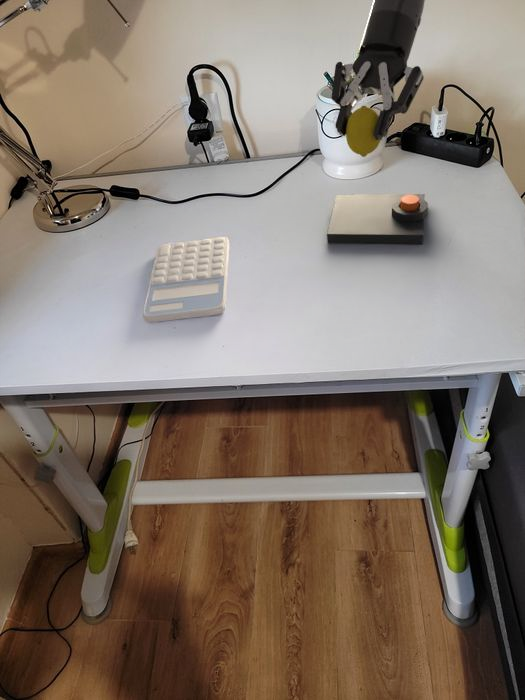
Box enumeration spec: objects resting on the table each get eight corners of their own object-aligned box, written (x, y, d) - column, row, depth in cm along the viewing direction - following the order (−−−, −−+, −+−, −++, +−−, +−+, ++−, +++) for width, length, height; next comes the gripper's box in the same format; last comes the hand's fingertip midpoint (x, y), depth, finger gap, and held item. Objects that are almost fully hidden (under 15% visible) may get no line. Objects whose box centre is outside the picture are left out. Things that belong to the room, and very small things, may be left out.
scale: (426, 203, 93) (428, 185, 91) (425, 244, 85) (427, 226, 82) (336, 203, 97) (335, 187, 95) (327, 243, 89) (326, 226, 86)
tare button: (418, 202, 88) (419, 194, 87) (418, 211, 86) (419, 203, 85) (401, 202, 89) (401, 194, 88) (400, 211, 87) (400, 203, 86)
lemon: (343, 164, 82) (342, 114, 76) (349, 148, 85) (348, 99, 79) (378, 164, 80) (379, 113, 74) (383, 148, 83) (384, 97, 78)
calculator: (230, 242, 93) (228, 233, 92) (225, 315, 79) (223, 306, 78) (159, 251, 94) (157, 242, 93) (143, 324, 80) (139, 316, 79)
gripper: (341, 7, 76) (308, 121, 78) (436, 7, 70) (397, 131, 72) (357, 35, 83) (326, 139, 85) (444, 38, 76) (409, 151, 78)
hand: (359, 135), depth 78 cm, fingers closed on lemon, 5 cm apart
